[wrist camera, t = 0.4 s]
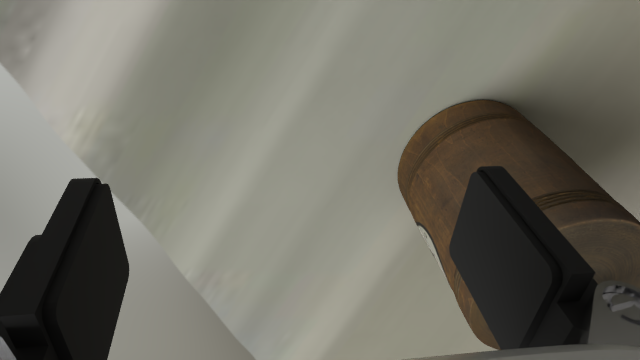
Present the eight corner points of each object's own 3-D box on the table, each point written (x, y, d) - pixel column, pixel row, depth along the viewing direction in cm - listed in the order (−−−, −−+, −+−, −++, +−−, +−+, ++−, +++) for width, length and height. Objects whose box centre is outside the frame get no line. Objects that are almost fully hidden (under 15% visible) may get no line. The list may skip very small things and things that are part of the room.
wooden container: (378, 210, 50) (459, 400, 32) (426, 87, 42) (567, 249, 25) (492, 221, 54) (620, 396, 36) (555, 110, 46) (757, 264, 29)
